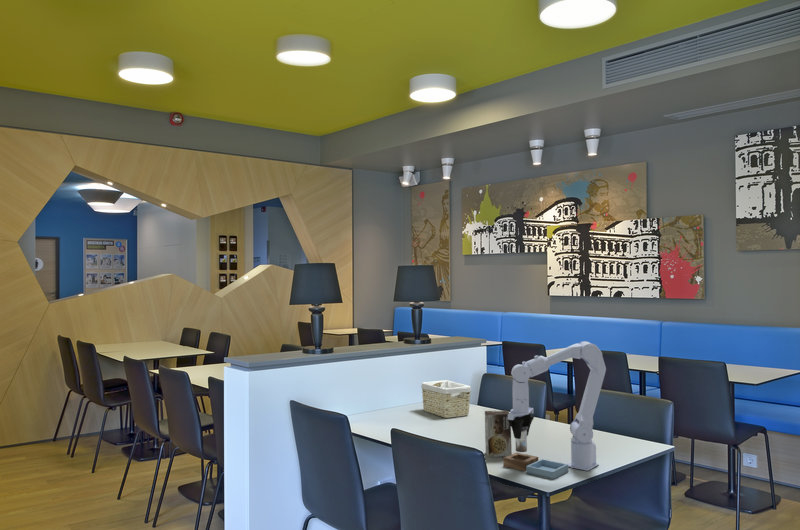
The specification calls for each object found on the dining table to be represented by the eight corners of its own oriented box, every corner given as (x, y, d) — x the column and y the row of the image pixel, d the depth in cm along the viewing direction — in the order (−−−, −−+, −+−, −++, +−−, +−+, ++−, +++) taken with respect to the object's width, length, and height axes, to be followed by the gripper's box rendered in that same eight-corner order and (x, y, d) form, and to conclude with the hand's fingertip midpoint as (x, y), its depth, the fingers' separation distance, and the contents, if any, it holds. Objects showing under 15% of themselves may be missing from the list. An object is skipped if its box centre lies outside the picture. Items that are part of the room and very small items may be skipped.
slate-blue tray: (542, 466, 223) (542, 459, 223) (568, 471, 216) (568, 464, 216) (526, 473, 214) (526, 466, 215) (552, 479, 208) (552, 471, 208)
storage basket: (420, 410, 319) (419, 381, 319) (447, 407, 326) (447, 379, 327) (444, 419, 298) (443, 388, 298) (472, 416, 305) (472, 385, 305)
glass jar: (519, 448, 227) (518, 423, 227) (530, 450, 223) (530, 425, 224) (512, 450, 223) (511, 426, 223) (523, 453, 220) (523, 428, 220)
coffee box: (508, 452, 241) (507, 410, 242) (511, 456, 235) (511, 413, 235) (484, 452, 241) (484, 410, 241) (487, 457, 234) (487, 414, 235)
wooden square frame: (516, 460, 230) (516, 452, 230) (538, 465, 224) (538, 456, 224) (503, 466, 223) (503, 457, 223) (525, 471, 217) (525, 462, 217)
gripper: (521, 394, 232) (521, 431, 231) (500, 400, 221) (500, 438, 221) (538, 396, 227) (538, 434, 227) (517, 402, 216) (518, 442, 216)
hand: (521, 436), depth 223 cm, fingers closed on glass jar, 5 cm apart
